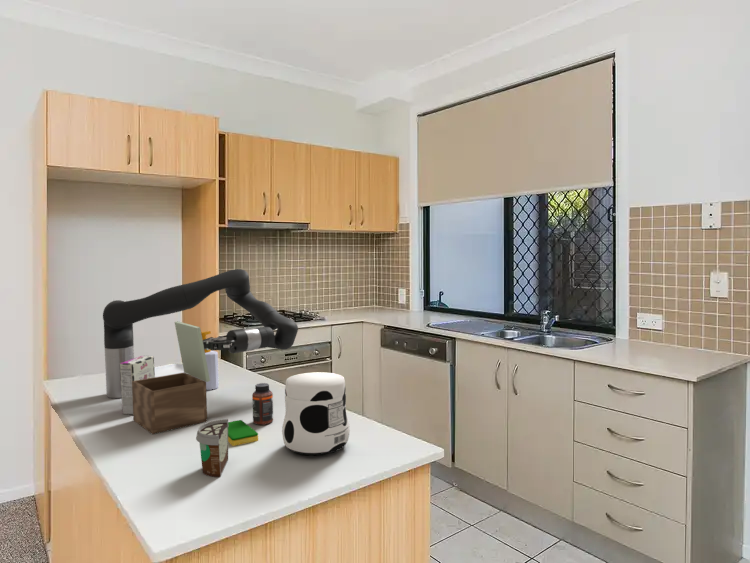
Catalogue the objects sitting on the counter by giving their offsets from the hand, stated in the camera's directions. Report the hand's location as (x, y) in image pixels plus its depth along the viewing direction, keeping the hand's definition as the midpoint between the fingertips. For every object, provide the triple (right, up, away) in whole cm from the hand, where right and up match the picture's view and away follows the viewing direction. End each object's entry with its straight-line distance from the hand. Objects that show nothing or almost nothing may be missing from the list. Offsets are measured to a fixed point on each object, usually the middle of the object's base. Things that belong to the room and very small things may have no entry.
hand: (193, 347), depth 164 cm
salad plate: (-25, -19, +48) cm, 58 cm away
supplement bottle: (+23, -22, -5) cm, 32 cm away
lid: (-1, -1, -1) cm, 1 cm away
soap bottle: (-8, -19, +35) cm, 40 cm away
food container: (+17, -24, -38) cm, 48 cm away
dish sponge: (+18, -23, -16) cm, 33 cm away
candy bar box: (-20, -21, +8) cm, 30 cm away
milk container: (+41, -23, -25) cm, 53 cm away
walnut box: (-6, -22, -4) cm, 23 cm away
